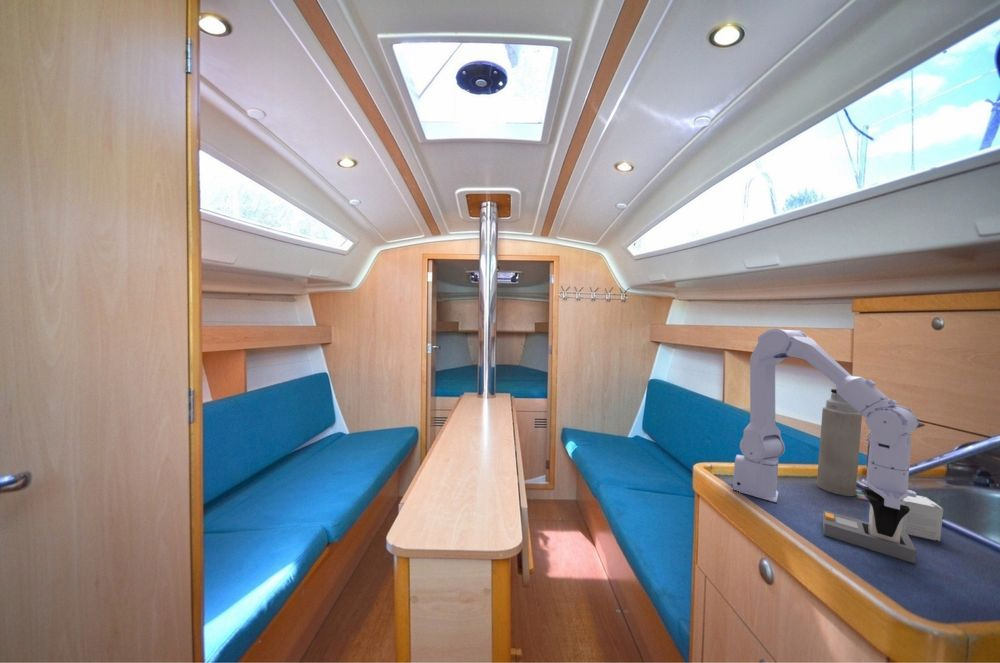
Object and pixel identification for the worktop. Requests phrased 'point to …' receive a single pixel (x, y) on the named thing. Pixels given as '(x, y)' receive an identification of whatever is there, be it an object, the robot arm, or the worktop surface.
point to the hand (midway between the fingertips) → (882, 529)
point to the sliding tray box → (866, 536)
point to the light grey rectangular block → (873, 531)
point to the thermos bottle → (839, 446)
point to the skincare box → (922, 518)
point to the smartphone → (861, 495)
